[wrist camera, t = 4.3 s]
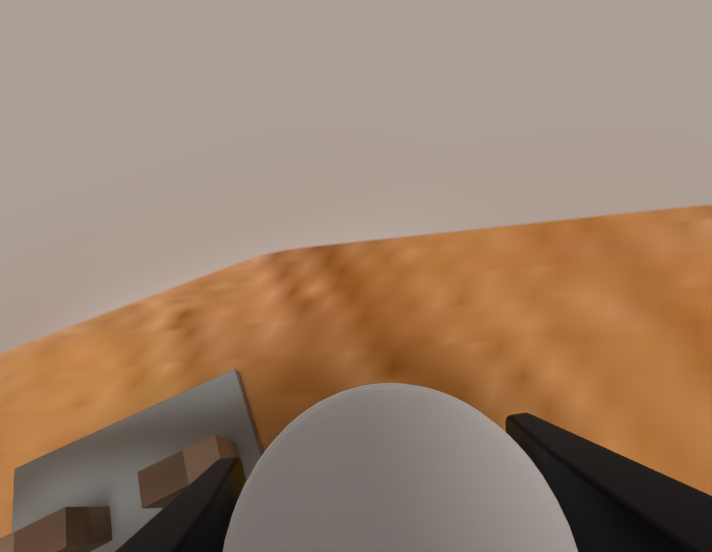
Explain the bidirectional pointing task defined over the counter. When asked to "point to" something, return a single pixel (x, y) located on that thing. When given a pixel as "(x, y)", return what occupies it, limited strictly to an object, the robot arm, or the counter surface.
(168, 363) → the counter surface
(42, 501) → the pocket
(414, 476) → the supplement bottle
